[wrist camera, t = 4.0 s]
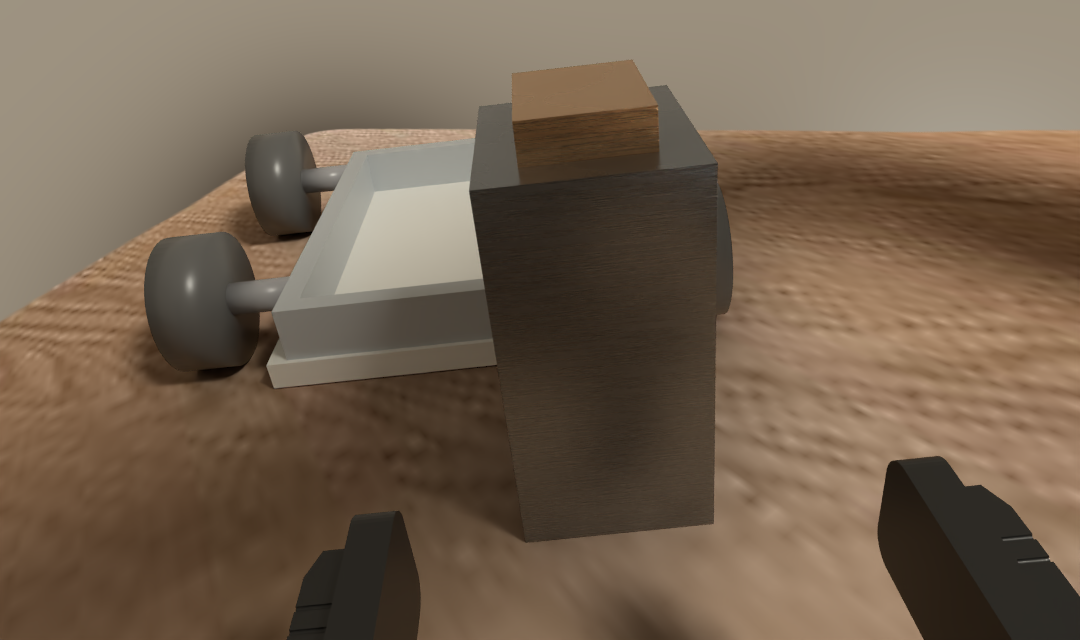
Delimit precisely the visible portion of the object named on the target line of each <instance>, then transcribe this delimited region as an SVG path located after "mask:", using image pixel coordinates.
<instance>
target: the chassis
mask: <svg viewBox="0 0 1080 640" xmlns="http://www.w3.org/2000/svg"><path fill="white" fill-rule="evenodd" d="M474 145H475V138H472V139H463V140H455V141H446V142H437V143H428V144H420V145H411V146H402V147H393V148H384V149H376V150H367V151H358V152H354V153H353V155H352V156H351V158H350V160H349V162H348V164H347V165H339V166H330V167H321V168H316V164H315V161H314V157H313V154H312V152H311V149H310V147H309V145H308V143H307V141H306V139H305V137H304V136H303V135H302V134H301V133H300V132H298V131H290V132H282V133H272V134H264V135H255V136H253V137H252V138H251V139H250V141H249V143H248V146H247V150H246V158H245V171H246V181H247V187H248V193H249V197H250V201H251V204H252V207H253V210H254V213H255V215H256V218H257V220H258V222H259V223H260V225H261V227H262V228H263V229H264V231H265V232H266V233H268V234H269V235H271V236H276V235H285V234H294V233H303V232H312V231H313V232H312V234H311V236H310V238H309V240H308V242H307V244H306V246H305V248H304V250H303V252H302V254H301V256H300V258H299V260H298V262H297V263H296V265H295V267H294V269H293V271H292V273H291V275H290V277H281V278H272V279H262V280H255V277H254V274H253V270H252V267H251V264H250V262H249V259H248V257H247V255H246V253H245V251H244V249H243V248H242V246H241V244H240V243H239V242H238V241H237V239H236V238H235V237H233V236H232V235H231V234H229V233H226V232H216V233H207V234H198V235H189V236H180V237H171V238H166V239H163V240H161V241H160V242H159V243H157V244H156V246H155V247H154V248H153V250H152V252H151V254H150V257H149V259H148V263H147V267H146V272H145V282H144V297H145V307H146V314H147V319H148V323H149V327H150V330H151V333H152V336H153V338H154V341H155V343H156V345H157V347H158V349H159V351H160V353H161V354H162V356H163V357H164V358H165V360H166V361H167V362H168V363H169V364H170V365H171V366H173V367H174V368H175V369H177V370H180V371H195V370H205V369H214V368H223V367H233V366H241V365H244V364H245V363H247V362H248V361H249V360H250V358H251V356H252V355H253V353H254V350H255V347H256V344H257V340H258V334H259V322H260V312H267V311H272V312H271V313H272V316H273V319H274V322H275V325H276V328H277V331H278V334H279V337H280V338H279V340H278V342H277V344H276V346H275V348H274V350H273V352H272V355H271V357H270V359H269V361H268V363H267V365H266V366H267V369H268V372H269V375H270V378H271V381H272V384H273V387H274V388H283V387H292V386H302V385H311V384H321V383H330V382H340V381H349V380H359V379H368V378H377V377H387V376H396V375H406V374H415V373H425V372H434V371H444V370H453V369H463V368H472V367H481V366H491V365H497V362H496V356H495V350H494V343H493V337H492V331H491V325H490V319H489V312H488V306H487V300H486V294H485V288H484V281H483V275H482V269H481V263H480V257H479V251H478V244H477V238H476V232H475V226H474V220H473V213H472V207H471V201H470V195H469V185H470V177H471V169H472V161H473V153H474ZM326 191H334V192H333V193H332V195H331V197H330V199H329V201H328V203H327V205H326V207H325V209H324V211H323V213H322V215H321V193H320V192H326ZM320 215H321V217H320ZM732 287H733V257H732V244H731V234H730V227H729V221H728V215H727V210H726V206H725V202H724V198H723V195H722V192H721V189H720V187H719V185H718V183H717V261H716V315H720V314H725V313H726V312H727V311H728V309H729V306H730V302H731V297H732Z"/></svg>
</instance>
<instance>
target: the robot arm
mask: <svg viewBox="0 0 1080 640" xmlns="http://www.w3.org/2000/svg"><path fill="white" fill-rule="evenodd" d="M878 542H879V548H880V552H881V555H882V559H883V561H884V564H885V566H886V568H887V570H888V572H889V574H890V576H891V578H892V580H893V582H894V583H895V585H896V587H897V589H898V591H899V593H900V595H901V597H902V599H903V601H904V603H905V605H906V606H907V608H908V610H909V612H910V614H911V616H912V618H913V620H914V622H915V624H916V626H917V627H918V629H919V631H920V633H921V635H922V637H923V639H924V640H1080V596H1079V595H1078V594H1077V592H1076V591H1075V590H1074V588H1073V587H1072V586H1071V584H1070V583H1069V582H1068V580H1067V579H1066V578H1065V576H1064V575H1063V574H1062V572H1061V571H1060V570H1059V569H1058V567H1057V566H1056V565H1055V563H1054V562H1050V560H1049V555H1048V554H1047V553H1046V551H1045V550H1044V549H1043V547H1042V546H1041V545H1040V543H1039V542H1038V541H1037V540H1036V539H1033V537H1032V533H1031V532H1030V530H1029V529H1028V528H1027V526H1026V525H1025V524H1024V522H1023V521H1022V520H1021V518H1020V517H1019V516H1018V515H1017V513H1016V512H1015V511H1014V509H1013V508H1012V507H1011V506H1010V505H1008V504H1007V503H1005V502H1004V501H1003V500H1001V499H1000V498H998V497H997V496H996V495H994V494H993V493H991V492H990V491H989V490H987V489H986V488H984V487H983V486H982V485H975V486H966V487H965V486H964V485H963V483H962V482H961V480H960V479H959V478H958V476H957V475H956V473H955V472H954V471H953V469H952V468H951V466H950V465H949V464H948V462H947V461H946V460H945V459H944V458H942V457H940V456H934V457H924V458H915V459H905V460H895V461H891V462H890V463H889V465H888V467H887V472H886V478H885V484H884V491H883V497H882V503H881V509H880V516H879V522H878ZM419 616H420V583H419V576H418V572H417V568H416V564H415V560H414V557H413V553H412V549H411V546H410V542H409V538H408V535H407V531H406V527H405V524H404V520H403V517H402V514H401V513H400V511H391V512H381V513H371V514H362V515H355V516H354V517H353V518H352V520H351V523H350V527H349V532H348V536H347V540H346V545H345V549H338V550H329V551H323V552H322V554H321V555H320V556H319V558H318V559H317V560H316V562H315V563H314V564H313V566H312V567H311V569H310V570H309V571H308V573H307V574H306V575H305V577H304V579H303V582H302V586H301V590H300V593H299V597H298V600H297V604H296V612H294V615H293V618H292V622H291V625H290V629H289V632H290V634H289V636H288V637H287V640H417V634H418V625H419Z"/></svg>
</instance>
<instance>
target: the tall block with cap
mask: <svg viewBox="0 0 1080 640" xmlns="http://www.w3.org/2000/svg"><path fill="white" fill-rule="evenodd" d="M717 171H718V163H717V161H716V160H715V158H714V157H713V155H712V154H711V152H710V151H709V149H708V148H707V146H706V144H705V143H704V141H703V140H702V138H701V137H700V135H699V134H698V132H697V131H696V129H695V128H694V126H693V125H692V123H691V121H690V120H689V118H688V117H687V116H686V114H685V112H684V111H683V109H682V108H681V106H680V105H679V103H678V102H677V100H676V99H675V97H674V96H673V94H672V92H671V91H670V89H669V88H668V86H667V85H665V86H655V87H647V85H646V83H645V81H644V79H643V77H642V76H641V74H640V72H639V71H638V69H637V67H636V65H635V63H634V62H633V60H626V61H616V62H608V63H599V64H591V65H582V66H573V67H564V68H555V69H547V70H538V71H530V72H521V73H512V103H506V104H497V105H489V106H480V107H479V113H478V121H477V129H476V137H475V145H474V153H473V161H472V169H471V177H470V185H469V195H470V201H471V207H472V213H473V220H474V226H475V232H476V238H477V244H478V251H479V257H480V263H481V269H482V275H483V281H484V288H485V294H486V300H487V306H488V312H489V319H490V325H491V331H492V337H493V343H494V350H495V356H496V362H497V368H498V374H499V381H500V387H501V393H502V399H503V405H504V412H505V418H506V424H507V430H508V436H509V443H510V449H511V455H512V461H513V467H514V474H515V480H516V486H517V492H518V498H519V505H520V511H521V517H522V523H523V529H524V536H525V542H535V541H545V540H556V539H566V538H576V537H586V536H596V535H606V534H616V533H626V532H637V531H647V530H657V529H667V528H677V527H687V526H697V525H707V524H714V443H715V352H716V261H717Z"/></svg>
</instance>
